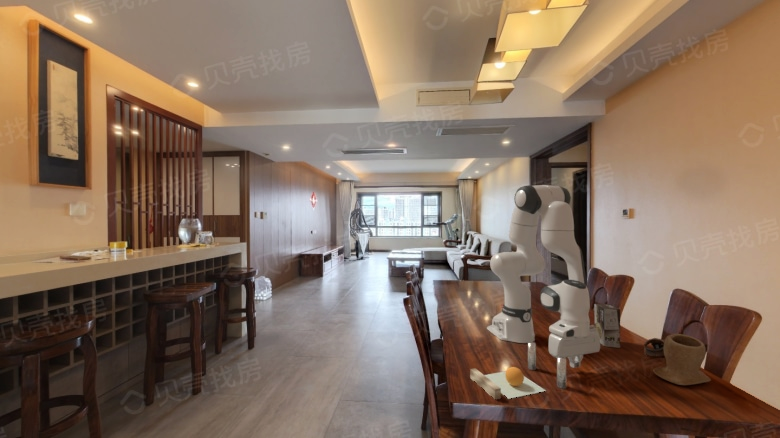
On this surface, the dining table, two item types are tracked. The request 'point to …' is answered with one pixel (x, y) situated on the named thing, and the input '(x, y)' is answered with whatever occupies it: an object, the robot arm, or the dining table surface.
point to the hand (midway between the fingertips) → (575, 366)
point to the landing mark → (514, 391)
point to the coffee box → (608, 324)
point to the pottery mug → (656, 345)
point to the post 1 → (531, 355)
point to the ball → (514, 376)
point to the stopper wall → (485, 383)
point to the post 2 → (561, 372)
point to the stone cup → (683, 360)
